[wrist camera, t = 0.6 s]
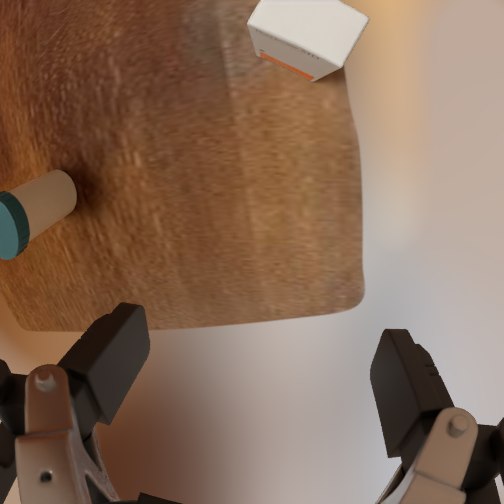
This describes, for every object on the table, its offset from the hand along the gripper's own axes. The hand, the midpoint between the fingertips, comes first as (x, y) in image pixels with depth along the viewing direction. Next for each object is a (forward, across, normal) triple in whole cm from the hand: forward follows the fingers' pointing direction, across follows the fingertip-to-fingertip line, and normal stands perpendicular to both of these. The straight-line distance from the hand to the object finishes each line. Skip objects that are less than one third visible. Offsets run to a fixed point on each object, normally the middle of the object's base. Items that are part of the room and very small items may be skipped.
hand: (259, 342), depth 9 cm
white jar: (+21, +26, 0) cm, 33 cm away
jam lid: (+10, +26, +1) cm, 28 cm away
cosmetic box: (+21, -1, -15) cm, 26 cm away
